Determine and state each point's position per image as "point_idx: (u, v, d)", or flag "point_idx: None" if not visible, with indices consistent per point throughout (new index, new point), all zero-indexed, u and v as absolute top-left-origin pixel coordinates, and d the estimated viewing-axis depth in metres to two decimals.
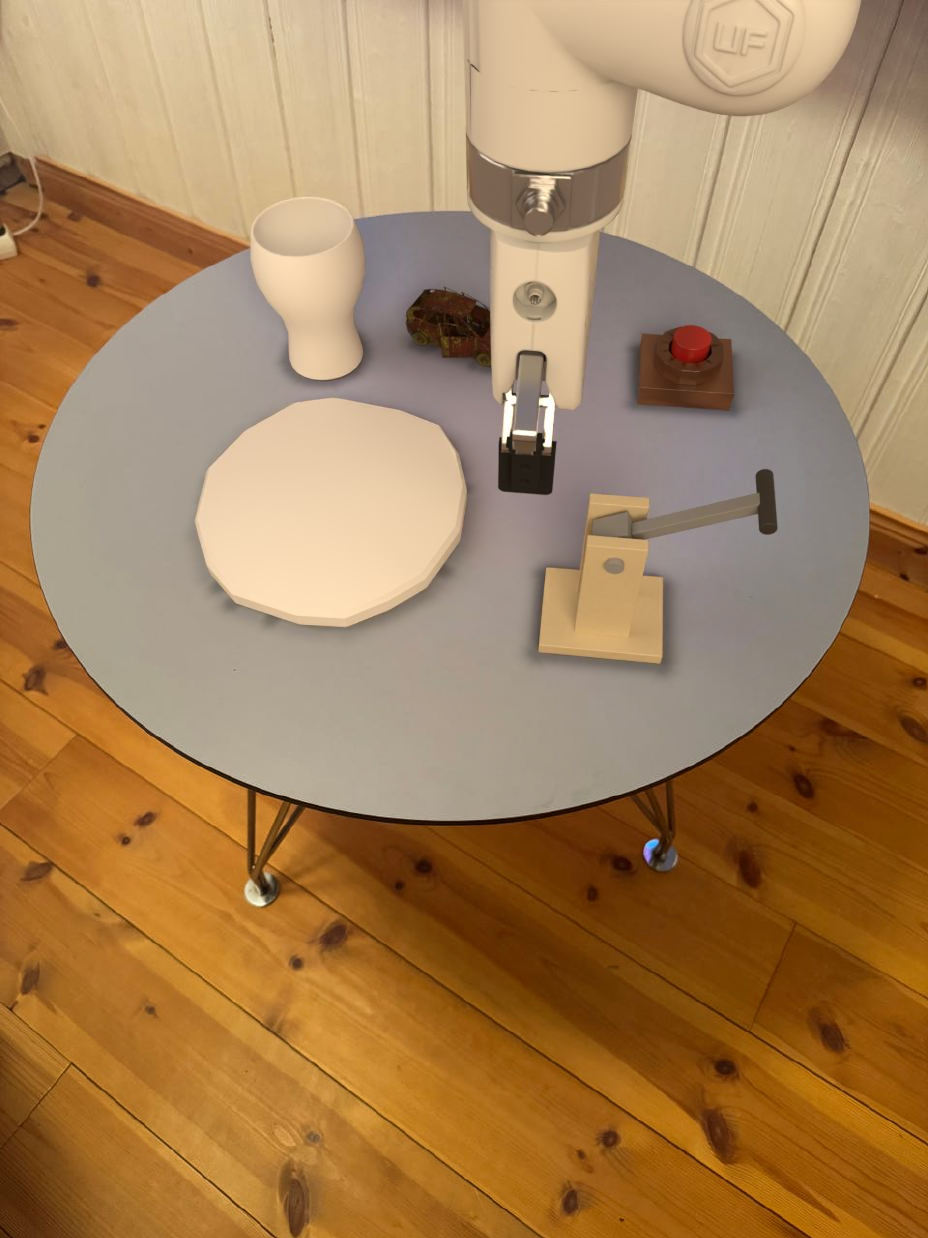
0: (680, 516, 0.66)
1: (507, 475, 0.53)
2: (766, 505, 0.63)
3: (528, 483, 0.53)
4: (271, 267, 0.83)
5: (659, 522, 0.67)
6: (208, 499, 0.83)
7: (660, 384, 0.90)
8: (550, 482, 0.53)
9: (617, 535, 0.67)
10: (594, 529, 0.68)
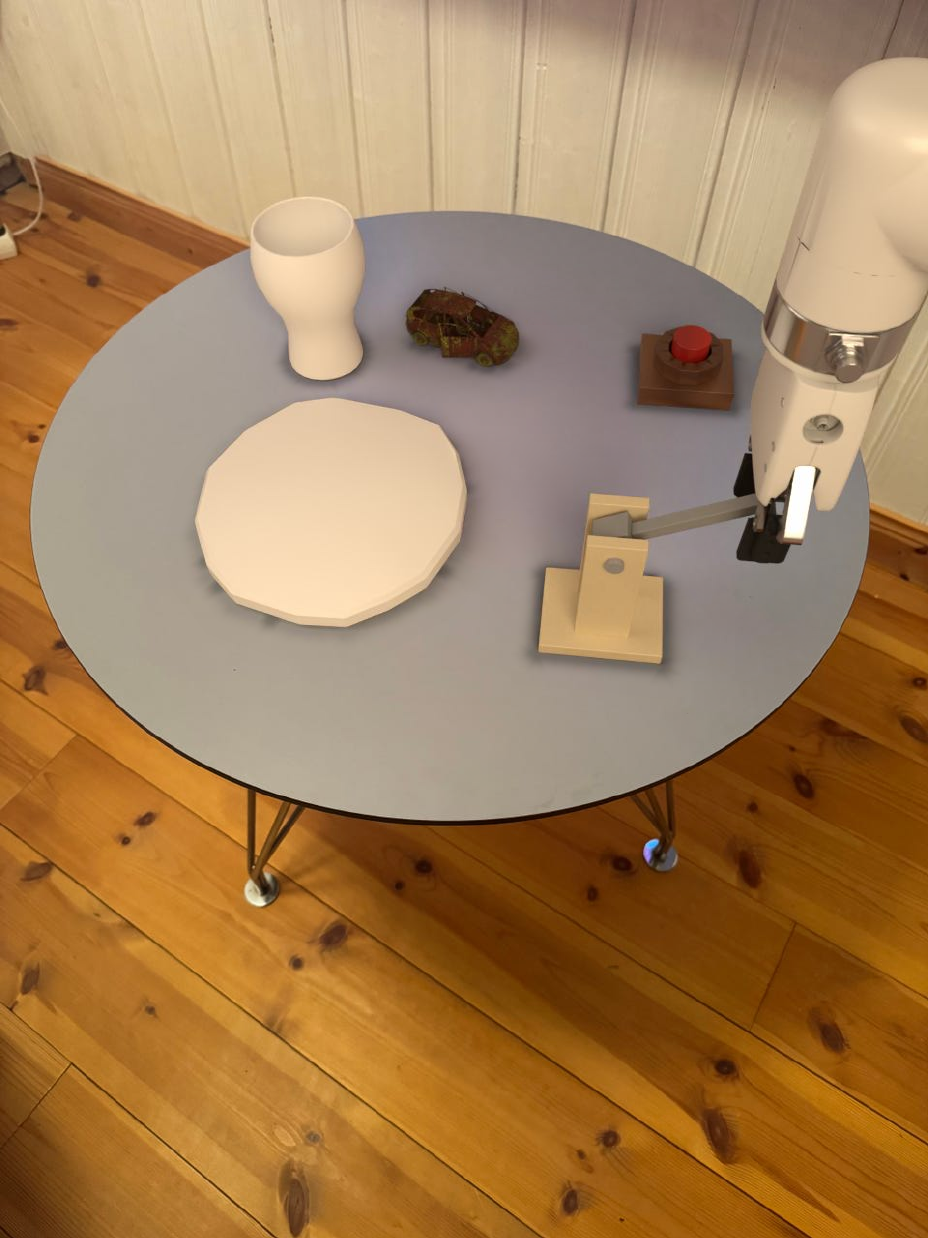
0: (680, 516, 0.66)
1: (748, 548, 0.63)
2: None
3: (768, 555, 0.62)
4: (271, 267, 0.83)
5: (659, 522, 0.67)
6: (208, 499, 0.83)
7: (660, 384, 0.90)
8: (784, 554, 0.63)
9: (617, 535, 0.67)
10: (594, 529, 0.68)
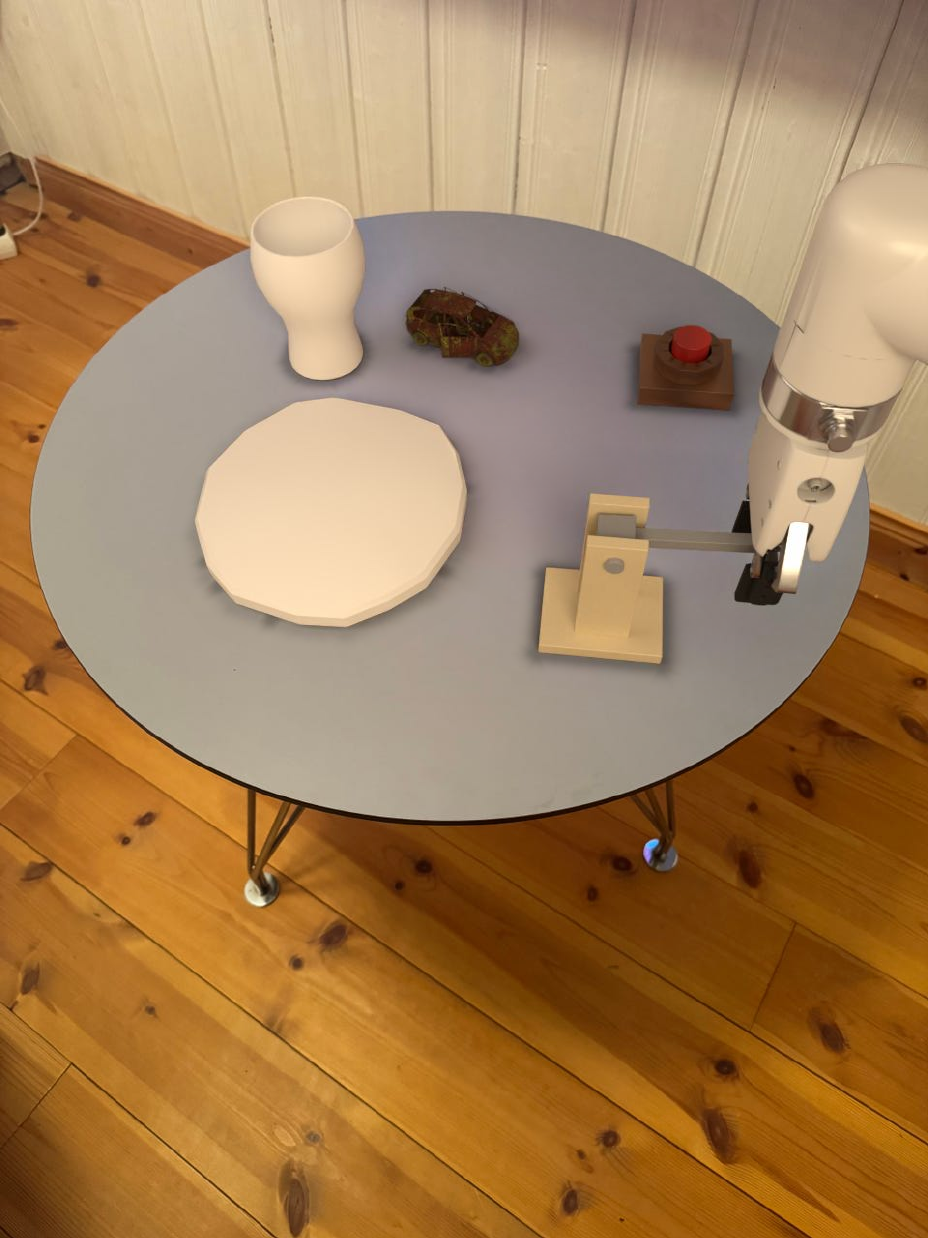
0: (686, 535, 0.68)
1: (745, 591, 0.67)
2: None
3: (764, 598, 0.66)
4: (271, 267, 0.83)
5: (664, 535, 0.68)
6: (208, 499, 0.83)
7: (660, 384, 0.90)
8: (779, 596, 0.67)
9: (625, 537, 0.67)
10: (600, 524, 0.68)
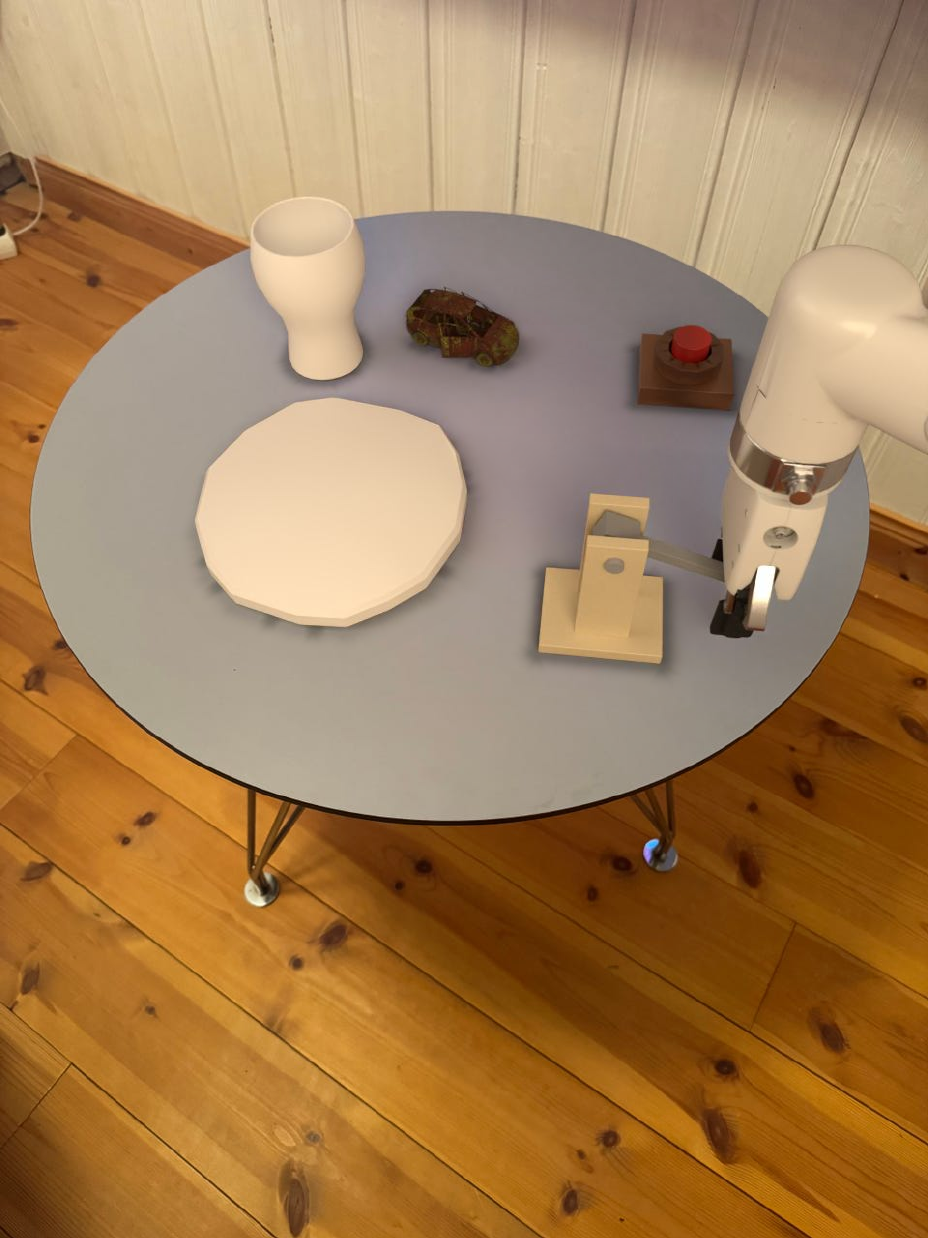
0: (680, 552, 0.69)
1: (719, 624, 0.71)
2: None
3: (737, 632, 0.70)
4: (271, 267, 0.83)
5: (661, 547, 0.69)
6: (208, 499, 0.83)
7: (660, 384, 0.90)
8: (752, 630, 0.71)
9: None
10: (608, 521, 0.67)
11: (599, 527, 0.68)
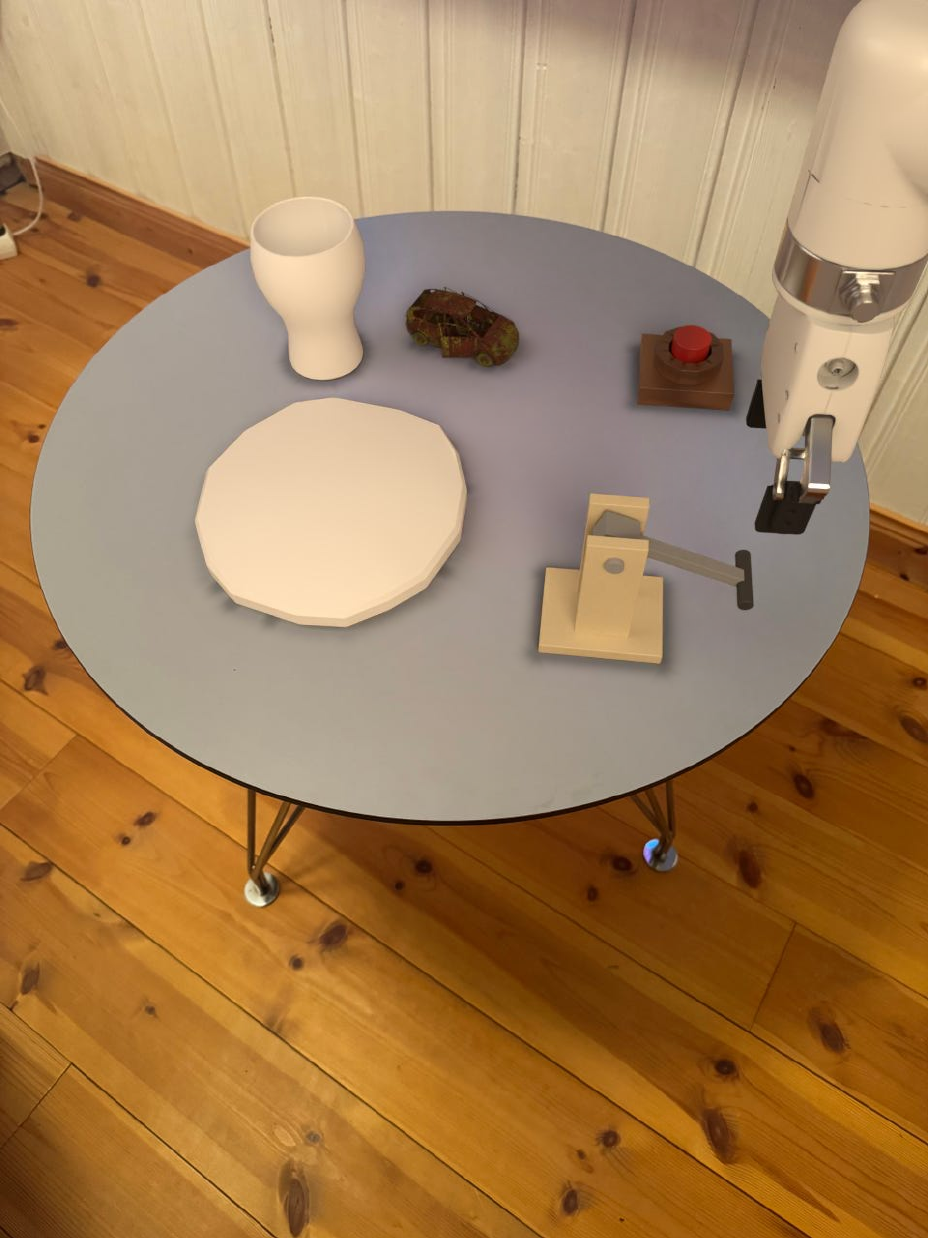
0: (679, 553, 0.69)
1: (767, 518, 0.60)
2: (750, 585, 0.70)
3: (788, 525, 0.59)
4: (271, 267, 0.83)
5: (661, 547, 0.69)
6: (208, 499, 0.83)
7: (660, 384, 0.90)
8: (805, 523, 0.60)
9: None
10: (608, 521, 0.67)
11: (599, 527, 0.68)
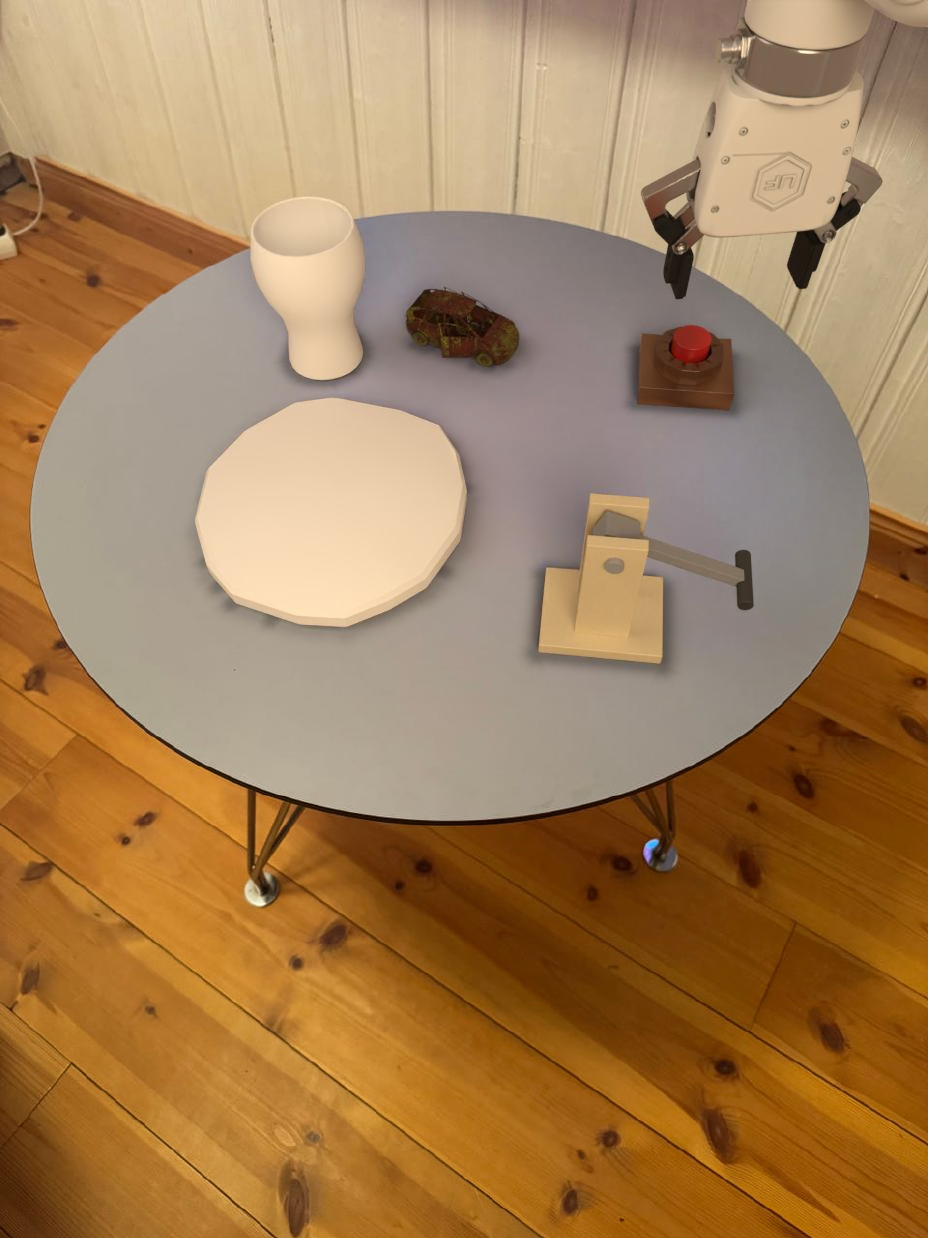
0: (679, 553, 0.69)
1: None
2: (750, 585, 0.70)
3: (667, 273, 0.71)
4: (271, 267, 0.83)
5: (661, 547, 0.69)
6: (208, 499, 0.83)
7: (660, 384, 0.90)
8: (678, 287, 0.71)
9: None
10: (608, 521, 0.67)
11: (599, 527, 0.68)
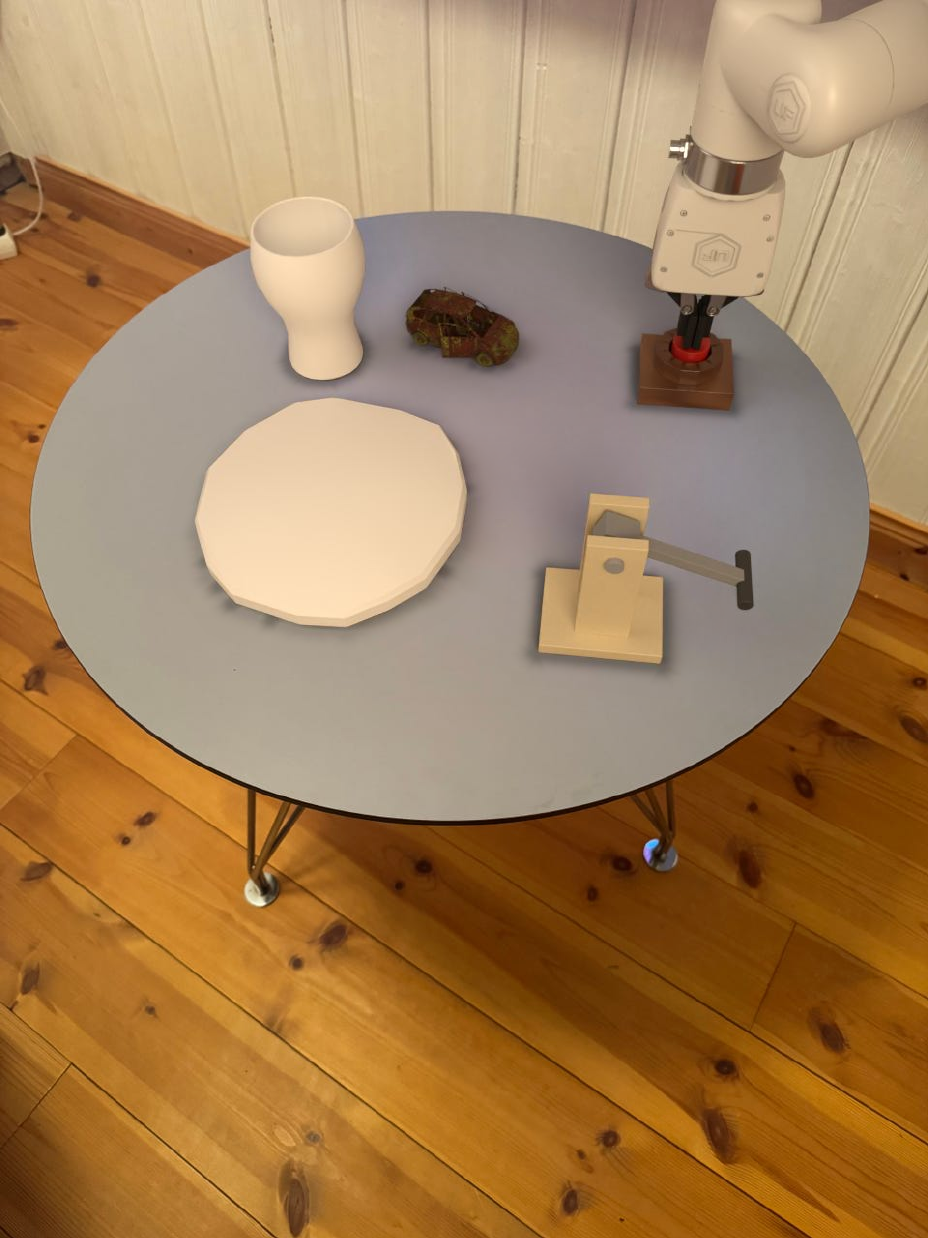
0: (679, 553, 0.69)
1: None
2: (750, 585, 0.70)
3: (678, 327, 0.88)
4: (271, 267, 0.83)
5: (661, 547, 0.69)
6: (208, 499, 0.83)
7: (660, 384, 0.90)
8: (684, 340, 0.88)
9: None
10: (608, 521, 0.67)
11: (599, 527, 0.68)
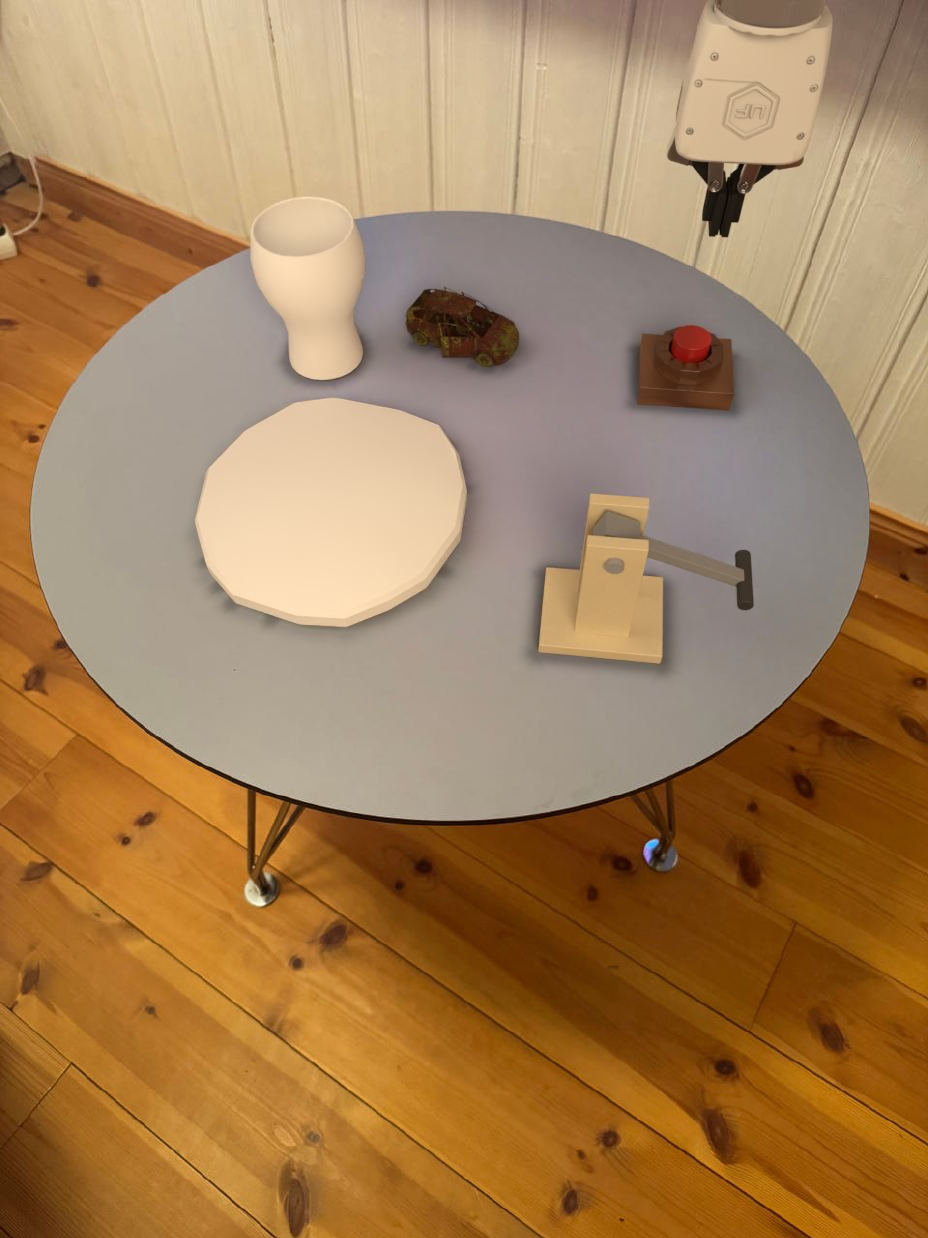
0: (679, 553, 0.69)
1: None
2: (750, 585, 0.70)
3: (704, 210, 0.78)
4: (271, 267, 0.83)
5: (661, 547, 0.69)
6: (208, 499, 0.83)
7: (660, 384, 0.90)
8: (711, 225, 0.78)
9: None
10: (608, 521, 0.67)
11: (599, 527, 0.68)
